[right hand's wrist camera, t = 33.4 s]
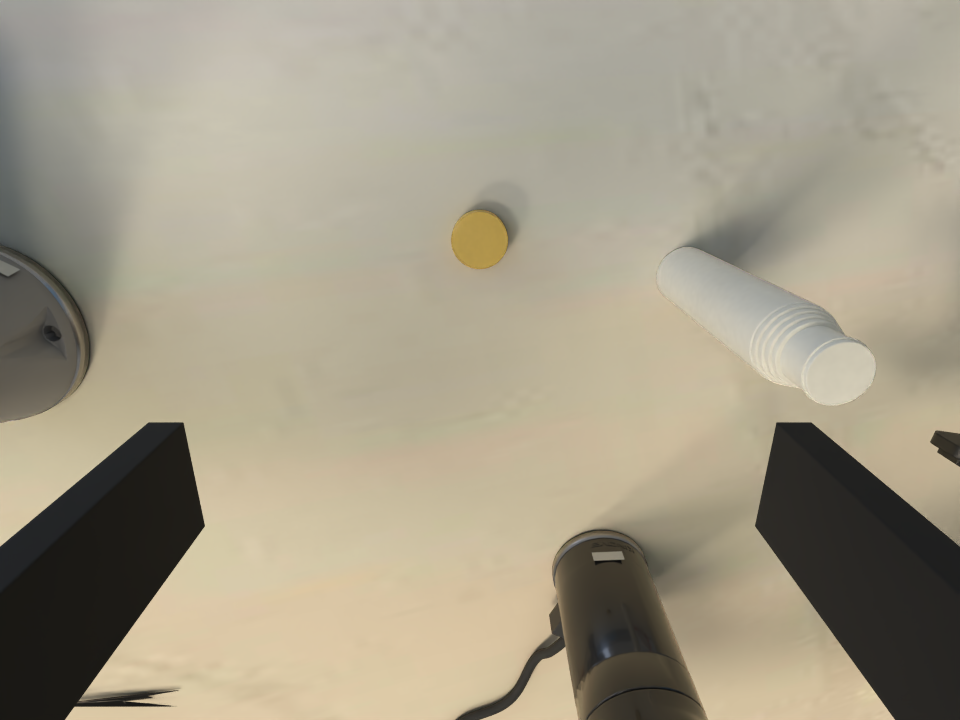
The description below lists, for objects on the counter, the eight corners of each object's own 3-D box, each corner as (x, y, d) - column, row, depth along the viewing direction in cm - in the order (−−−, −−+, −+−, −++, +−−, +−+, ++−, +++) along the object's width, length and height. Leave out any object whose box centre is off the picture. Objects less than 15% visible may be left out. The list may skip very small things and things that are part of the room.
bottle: (646, 292, 47) (772, 403, 27) (670, 239, 46) (822, 314, 25) (697, 309, 48) (858, 429, 27) (722, 256, 46) (912, 343, 26)
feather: (-46, 697, 65) (-63, 704, 63) (187, 687, 63) (177, 694, 61) (-48, 714, 65) (-65, 721, 63) (187, 704, 63) (176, 712, 61)
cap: (467, 274, 47) (466, 278, 45) (442, 225, 45) (441, 227, 44) (516, 250, 46) (517, 254, 45) (492, 199, 45) (492, 201, 43)
